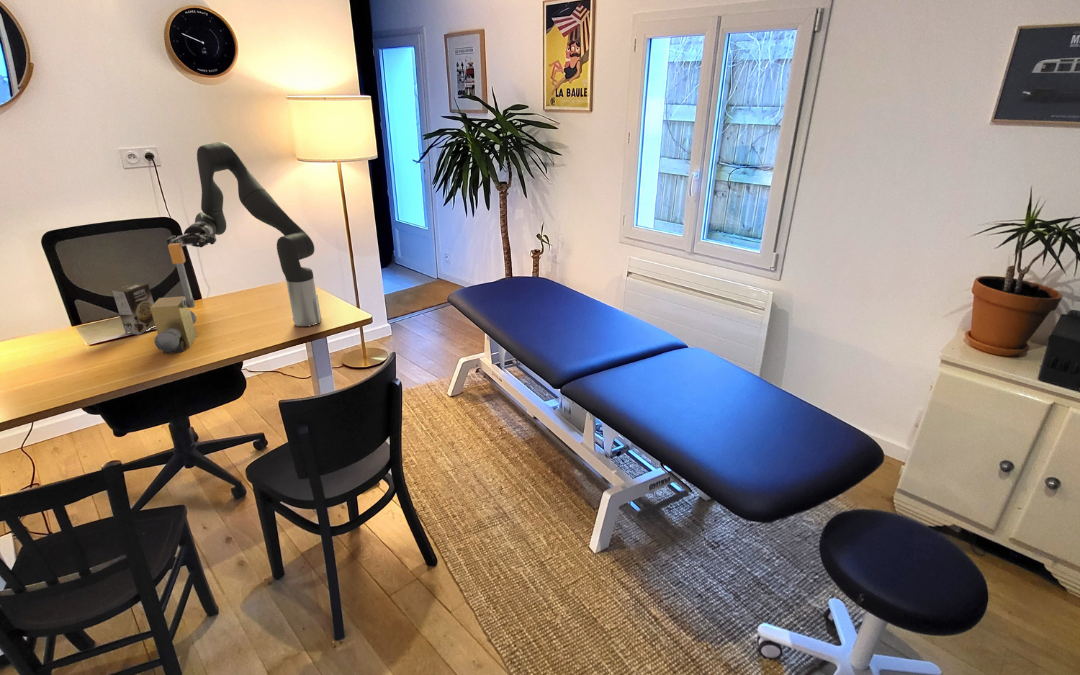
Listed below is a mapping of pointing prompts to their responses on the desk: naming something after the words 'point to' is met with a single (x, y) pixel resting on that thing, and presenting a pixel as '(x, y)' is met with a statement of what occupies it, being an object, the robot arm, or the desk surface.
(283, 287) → the desk surface
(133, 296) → the coffee box
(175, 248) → the lever
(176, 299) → the block
